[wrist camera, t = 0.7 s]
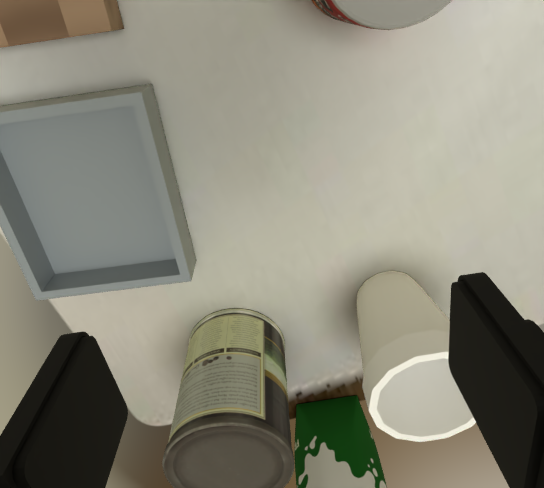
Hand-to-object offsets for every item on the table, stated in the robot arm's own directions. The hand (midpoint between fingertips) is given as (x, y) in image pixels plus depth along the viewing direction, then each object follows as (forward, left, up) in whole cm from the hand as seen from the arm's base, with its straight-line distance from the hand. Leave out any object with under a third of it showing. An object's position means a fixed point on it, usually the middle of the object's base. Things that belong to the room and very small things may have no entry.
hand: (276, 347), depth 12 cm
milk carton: (+36, +3, -27) cm, 46 cm away
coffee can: (+23, -6, -27) cm, 37 cm away
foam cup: (+19, +10, -27) cm, 35 cm away
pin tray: (+4, -15, -27) cm, 31 cm away
